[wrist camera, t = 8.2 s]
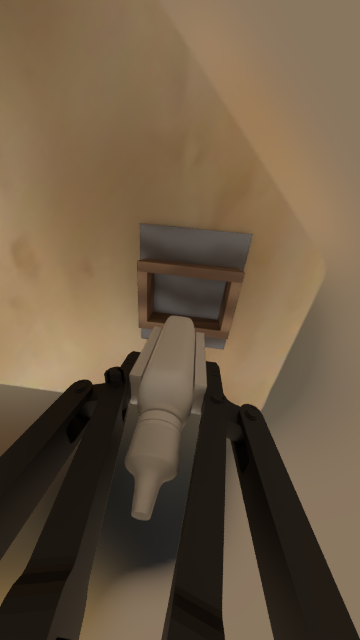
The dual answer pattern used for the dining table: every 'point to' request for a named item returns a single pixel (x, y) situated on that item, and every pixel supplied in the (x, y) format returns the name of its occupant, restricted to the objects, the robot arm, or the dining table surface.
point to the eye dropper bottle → (162, 413)
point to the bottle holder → (190, 278)
